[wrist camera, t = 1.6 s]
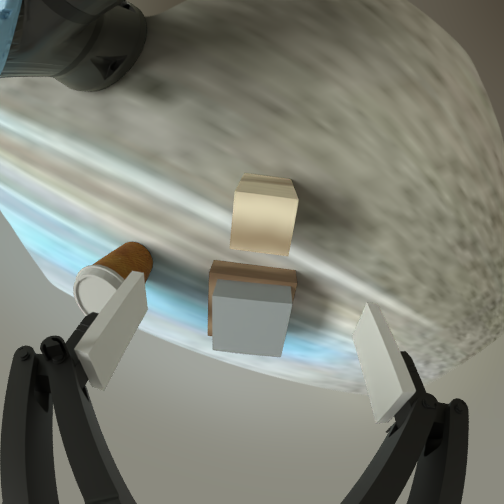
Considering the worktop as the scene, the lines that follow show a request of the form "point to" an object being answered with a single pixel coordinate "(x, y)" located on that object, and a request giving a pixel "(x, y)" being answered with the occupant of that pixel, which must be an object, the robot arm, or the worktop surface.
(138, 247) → the disposable coffee cup
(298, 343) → the worktop surface
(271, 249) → the birch block
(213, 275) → the base slab
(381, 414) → the robot arm
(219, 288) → the top slab
